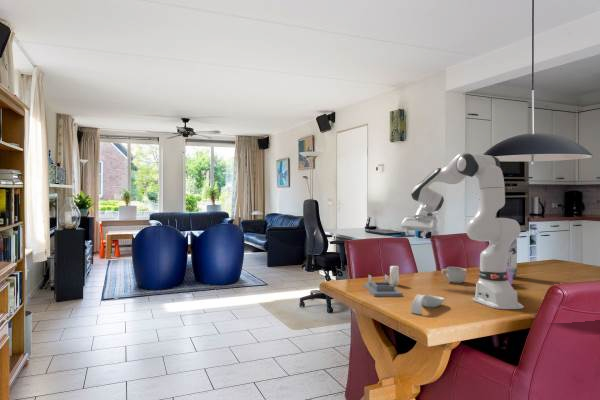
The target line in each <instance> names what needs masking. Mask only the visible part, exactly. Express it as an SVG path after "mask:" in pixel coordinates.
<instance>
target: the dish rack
mask: <svg viewBox="0 0 600 400" xmlns="http://www.w3.org/2000/svg"><path fill="white" fill-rule="evenodd" d="M372 277H373V276H372V275H371V274H368V282H363V287H364V288H365V289H366V290H367V291H368V292H369V293H370V294H371V295H372V296H373V297H376V298H380V297H382V298H383V297H384V298H385V297H387V298H388V297H403V296H404V295H403V294H404V293H403V292H402V291H400V290H399V289H397V288H396V287H395V285H393V284H391V283H390V281H389V275H387V274H384V281H372V279H373V278H372Z"/></svg>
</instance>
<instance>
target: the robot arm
mask: <svg viewBox="0 0 600 400" xmlns="http://www.w3.org/2000/svg"><path fill="white" fill-rule="evenodd" d="M466 177H471V178H473V177H476V178H477V180H478V208H477V210H476V211H475V214H474V216H473V217H472V218H471V219H469V221H468V222H467V224H466V227H465V231H466V235H467V237H468V238H469V239H470V240H472V241H473V240H474V241H477V242H489V244H488V246H487V247H486V248H485V249H484V250H482V251H481V252H480V253H479V254H480V255H479V270H478V277H479V279H478V280H477V282H475V283H476V285H475V295H474V296H475V297H472V301H473V302H475V303H479V304H482V305H484V306H487V307H489V308H492V309H497V310H520V309H524V308H525V307H524V305H523V304H521V303H520V302H519V301H518V291H517V290H515V289H514V287H513V286H512V284H511V285H510V283H509V282H508V278H509V277H508V276H509V275H508V274H507V272H506V256H507V252H508V249H509V247H510V245H511V244H512V242H513V241H514V240H515V239H517V238H519V236H520V234H521V225H520V223H519V222H518V221H517V220H516V219H514V218H513V219H512V218H509V217H496V216H497V213H498V212H499V210H501V209H502V208H503V207H504V206H505V204H506V191H505V189H506V188H505V180H504V174H503V170H502V168H501V161H500V159H499V158H498V157H496V156H494V155H490V154H489V155H488V154H481V153H471V152H468V151H461V152H459V153H458V154H456V155H455V156H454V157H453V158H452V160H450V162H449V163H448V164H447V165H446V166H444V167H437V168H436V169H434V170H433V171H432V172H431V173H429V174H428V175H427V176H426V177H425V178H424V179H423V180H421V181H420V182H419V183H418V184H416V185H415V186H414V187H413V188H412V190H411V193H410V196H411V198H412V199H413V200H414V201H416V202H419V205H418V208H417V209H416V212H415V213H414V215H413V216H409V215H408V216H406V217H404V219H403V220H402V223H400V224H401V225H400V227H401V229H402V230H404V231H405V233H404V235H405V236H409V235H410V232H409V231H414V232H416V231H417V232H421V233H420V237H425V235H426V234H428V233H429V232H430V233H434V232H435V231H436V230H437V226H438V218H437V216H436V215H435V213H436V212H438V211H440V210H441V208H442V206H443V204H444V201H445V199H444V196H443V195H442V194H441V193H439V192H437V191H435V190H433V189H432V188H429V186H431V185H432V184H433V183H436V182H437V183H438V182H439V183H444V184H449V185H457V184H460V183H461V182H462V181H464V180H465V179H466Z"/></svg>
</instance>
